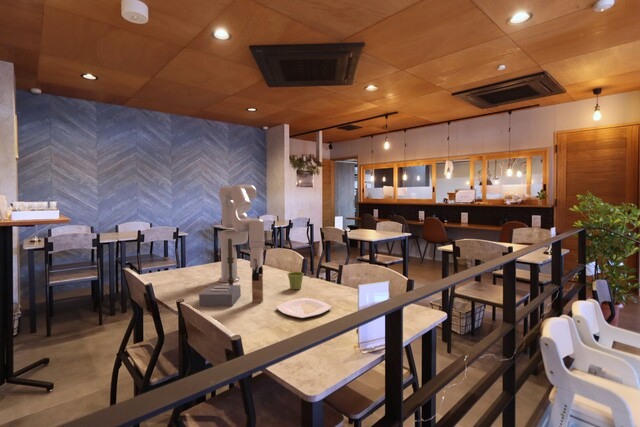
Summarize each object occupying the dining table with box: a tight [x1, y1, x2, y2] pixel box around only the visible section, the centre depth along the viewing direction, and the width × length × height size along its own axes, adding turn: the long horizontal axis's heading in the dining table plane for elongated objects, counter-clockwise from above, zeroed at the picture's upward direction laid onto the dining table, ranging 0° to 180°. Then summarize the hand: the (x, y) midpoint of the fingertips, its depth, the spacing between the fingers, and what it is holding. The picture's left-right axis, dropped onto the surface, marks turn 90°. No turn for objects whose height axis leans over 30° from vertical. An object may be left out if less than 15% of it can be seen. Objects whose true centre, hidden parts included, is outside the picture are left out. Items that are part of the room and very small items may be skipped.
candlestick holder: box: [227, 239, 235, 285], centre depth 189 cm, size 9×9×30 cm
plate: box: [275, 297, 333, 319], centre depth 159 cm, size 23×23×2 cm
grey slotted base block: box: [198, 284, 242, 308], centre depth 172 cm, size 16×16×7 cm
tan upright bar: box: [251, 273, 264, 304], centre depth 170 cm, size 2×5×14 cm, turn 89°
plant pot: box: [287, 271, 305, 290], centre depth 193 cm, size 9×9×9 cm
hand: (257, 278), depth 169 cm, fingers open, 9 cm apart
